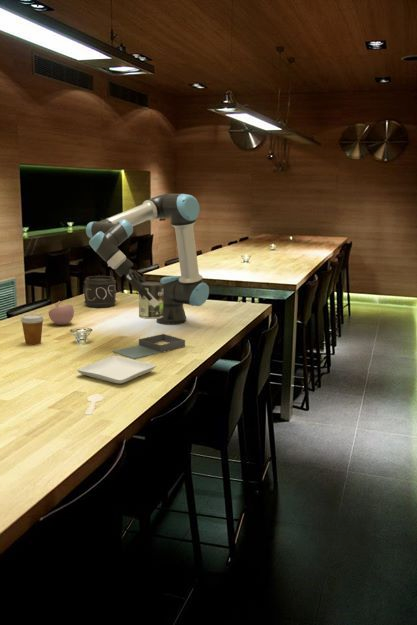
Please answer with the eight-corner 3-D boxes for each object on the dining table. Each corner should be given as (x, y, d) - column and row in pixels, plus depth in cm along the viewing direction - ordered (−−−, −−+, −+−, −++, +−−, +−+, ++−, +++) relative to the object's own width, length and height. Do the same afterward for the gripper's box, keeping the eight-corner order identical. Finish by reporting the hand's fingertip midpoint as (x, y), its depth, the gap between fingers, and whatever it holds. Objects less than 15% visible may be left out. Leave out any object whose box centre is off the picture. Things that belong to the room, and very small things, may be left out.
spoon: (79, 415, 182) (79, 414, 182) (89, 395, 200) (89, 393, 199) (97, 416, 182) (97, 414, 182) (105, 395, 200) (105, 393, 200)
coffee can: (166, 315, 256) (166, 282, 253) (159, 320, 246) (159, 285, 243) (142, 313, 258) (143, 280, 255) (135, 318, 248) (135, 284, 245)
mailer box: (163, 340, 269) (163, 333, 268) (184, 346, 259) (185, 339, 259) (112, 351, 249) (112, 344, 249) (133, 359, 240) (133, 351, 239)
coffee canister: (114, 308, 332) (113, 280, 329) (81, 308, 332) (81, 280, 329) (119, 302, 350) (119, 275, 346) (88, 301, 350) (88, 275, 347)
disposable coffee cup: (49, 342, 262) (48, 315, 260) (36, 347, 253) (34, 319, 251) (30, 339, 265) (29, 313, 263) (17, 345, 256) (15, 317, 254)
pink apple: (66, 320, 302) (65, 298, 300) (79, 325, 294) (78, 302, 291) (44, 324, 294) (43, 301, 292) (57, 328, 286) (56, 305, 283)
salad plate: (120, 388, 206) (120, 379, 206) (75, 377, 217) (75, 368, 217) (158, 373, 224) (158, 364, 223) (114, 363, 235) (114, 354, 234)
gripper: (118, 266, 259) (154, 303, 262) (109, 274, 237) (148, 314, 240) (131, 254, 258) (167, 292, 261) (122, 261, 236) (162, 301, 239)
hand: (158, 302), depth 250 cm, fingers closed on coffee can, 10 cm apart
